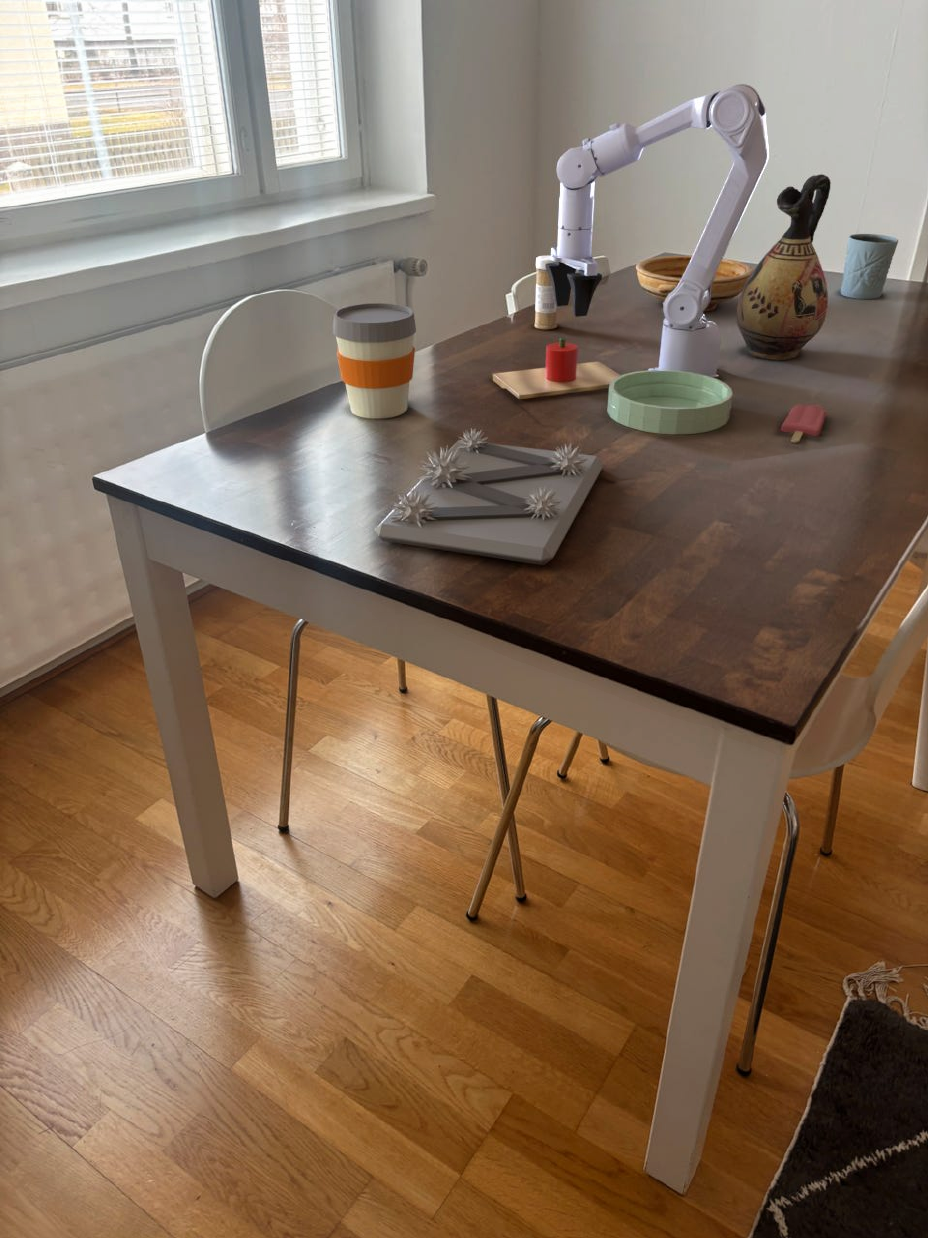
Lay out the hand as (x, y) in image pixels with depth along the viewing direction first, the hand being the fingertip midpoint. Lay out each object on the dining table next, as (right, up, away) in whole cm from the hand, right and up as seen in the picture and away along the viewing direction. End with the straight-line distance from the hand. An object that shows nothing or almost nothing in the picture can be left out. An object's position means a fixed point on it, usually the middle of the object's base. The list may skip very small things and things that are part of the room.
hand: (571, 310), depth 166 cm
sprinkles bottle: (-2, +5, +26) cm, 27 cm away
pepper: (-2, -13, -5) cm, 14 cm away
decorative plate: (-15, -40, -45) cm, 62 cm away
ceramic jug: (+39, -5, +10) cm, 41 cm away
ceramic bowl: (+30, +14, +40) cm, 52 cm away
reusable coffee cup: (-32, -20, -14) cm, 41 cm away
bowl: (+13, -22, -18) cm, 32 cm away
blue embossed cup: (+70, +19, +47) cm, 87 cm away
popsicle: (+32, -26, -23) cm, 47 cm away
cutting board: (-2, -14, -5) cm, 15 cm away
